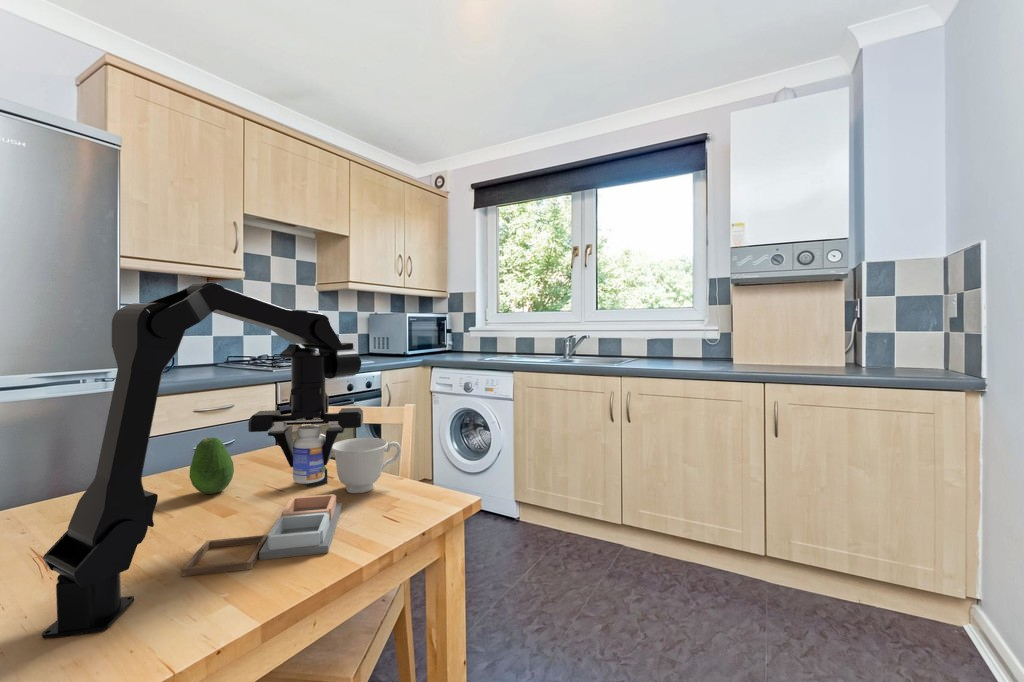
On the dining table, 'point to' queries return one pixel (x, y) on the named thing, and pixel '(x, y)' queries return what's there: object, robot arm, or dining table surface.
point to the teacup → (362, 461)
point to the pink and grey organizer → (303, 527)
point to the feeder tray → (224, 567)
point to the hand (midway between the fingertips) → (309, 465)
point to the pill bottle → (308, 455)
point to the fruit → (211, 466)
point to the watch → (324, 480)
